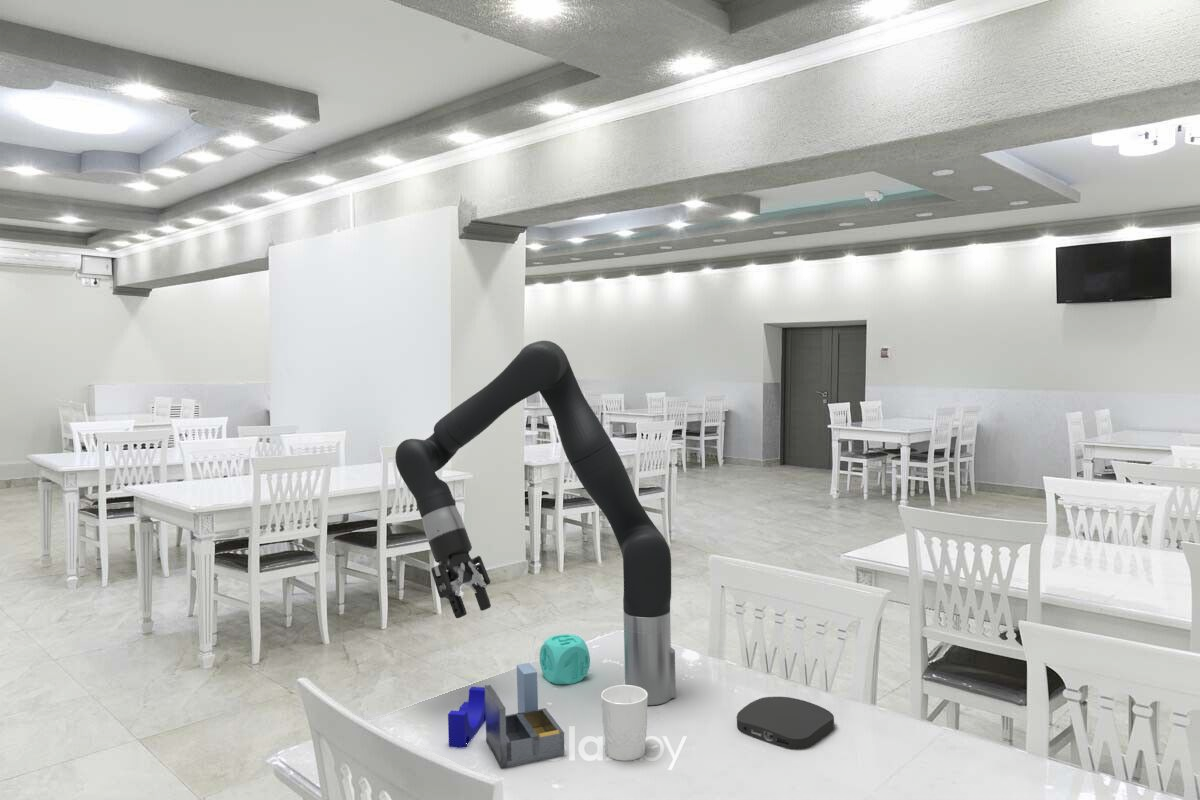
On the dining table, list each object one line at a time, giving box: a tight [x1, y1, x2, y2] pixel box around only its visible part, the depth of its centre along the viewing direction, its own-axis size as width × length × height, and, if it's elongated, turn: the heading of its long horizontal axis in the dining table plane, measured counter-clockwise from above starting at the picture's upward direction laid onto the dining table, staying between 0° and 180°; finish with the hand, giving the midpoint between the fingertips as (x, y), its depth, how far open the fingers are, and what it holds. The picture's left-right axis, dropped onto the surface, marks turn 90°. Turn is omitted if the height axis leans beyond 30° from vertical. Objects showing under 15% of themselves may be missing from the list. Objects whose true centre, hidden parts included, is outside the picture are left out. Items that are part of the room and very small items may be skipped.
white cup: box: [600, 684, 648, 762], centre depth 137 cm, size 8×8×10 cm
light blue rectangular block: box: [516, 662, 539, 713], centre depth 150 cm, size 2×5×10 cm, turn 21°
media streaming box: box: [736, 696, 835, 751], centre depth 145 cm, size 15×15×3 cm
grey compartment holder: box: [484, 684, 566, 770], centre depth 139 cm, size 11×10×10 cm
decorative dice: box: [539, 633, 591, 685], centre depth 170 cm, size 8×8×8 cm
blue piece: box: [447, 686, 486, 748], centre depth 146 cm, size 12×4×6 cm, turn 169°
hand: (474, 612), depth 155 cm, fingers open, 8 cm apart
